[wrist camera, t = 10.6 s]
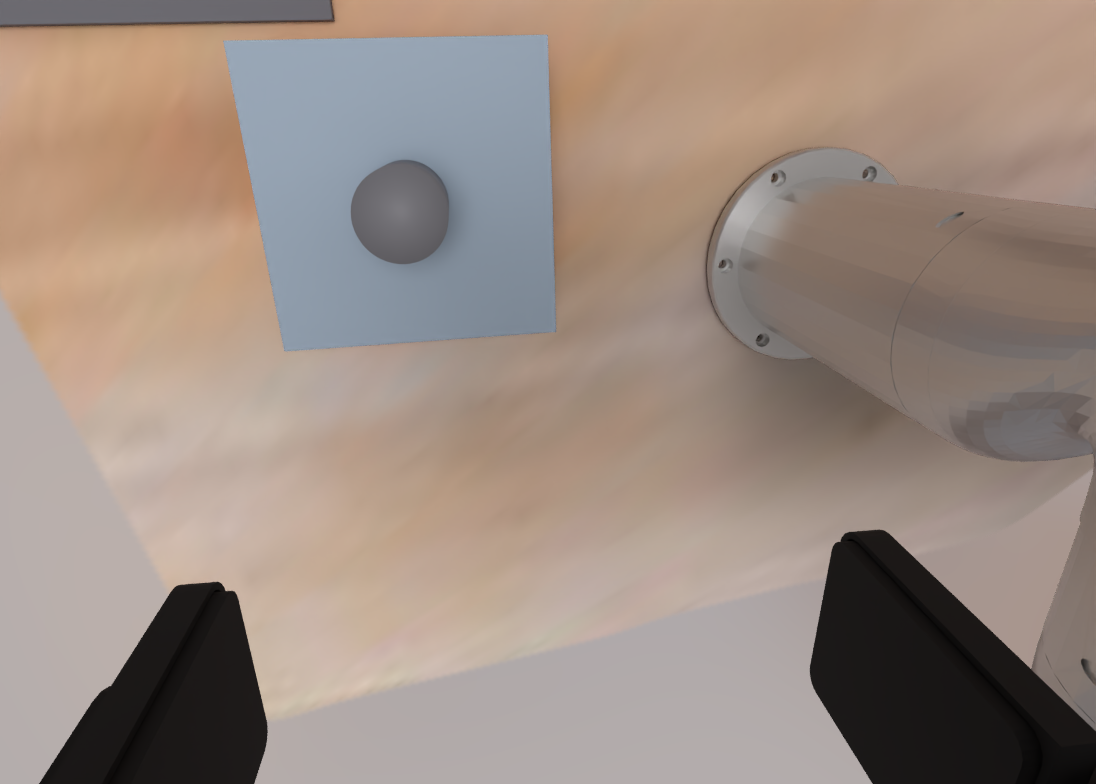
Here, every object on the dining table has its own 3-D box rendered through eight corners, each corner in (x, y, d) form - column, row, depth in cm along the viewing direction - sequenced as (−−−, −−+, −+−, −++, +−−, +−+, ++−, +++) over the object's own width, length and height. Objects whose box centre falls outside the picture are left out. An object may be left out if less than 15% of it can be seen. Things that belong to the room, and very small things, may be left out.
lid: (544, 37, 28) (567, 15, 23) (553, 327, 33) (573, 365, 28) (229, 43, 26) (173, 21, 21) (288, 346, 31) (255, 390, 26)
